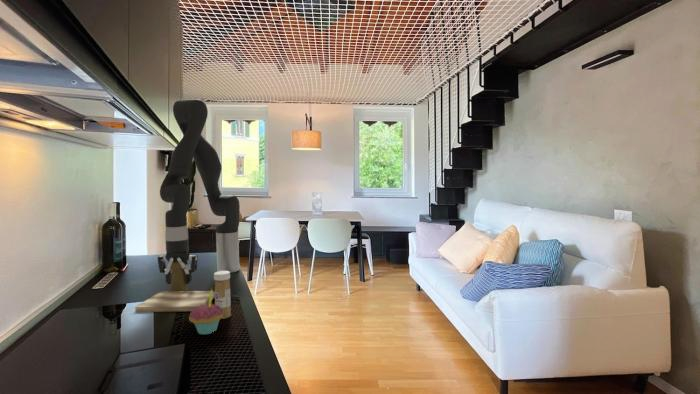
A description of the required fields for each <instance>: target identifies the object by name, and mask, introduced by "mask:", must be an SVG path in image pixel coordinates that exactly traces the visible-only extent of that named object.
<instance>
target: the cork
mask: <svg viewBox="0 0 700 394" xmlns="http://www.w3.org/2000/svg"><path fill="white" fill-rule="evenodd" d="M185 265H186V264H185ZM170 268H171V270H172V271H171V273H172V278H171V284H170V289H169V290H170V291H189V287H188V285H189V284H186V272H185V271H184V269H183V268H182V267H181V264H180V263H179V262H173V263H172V264H171V267H170Z"/></svg>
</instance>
